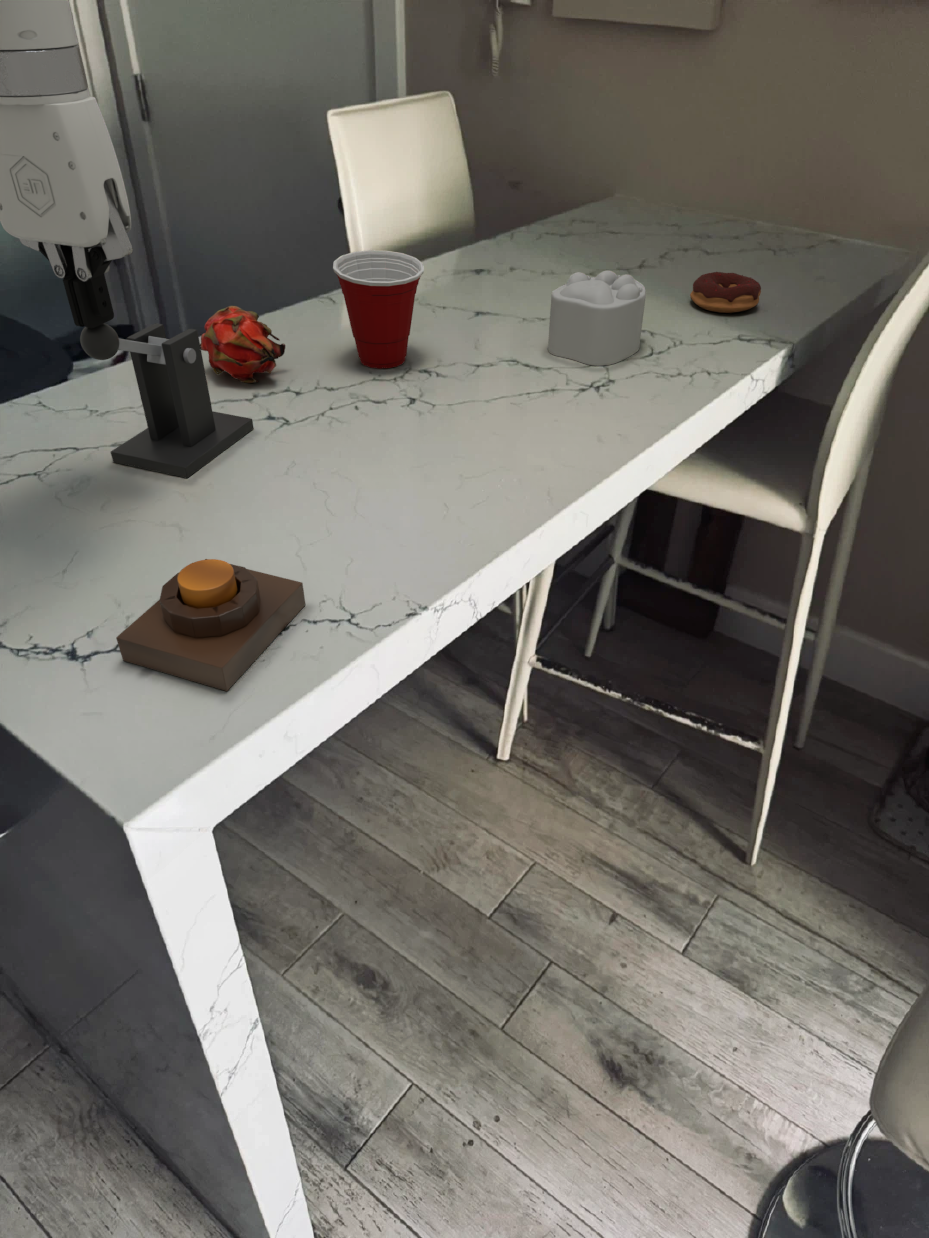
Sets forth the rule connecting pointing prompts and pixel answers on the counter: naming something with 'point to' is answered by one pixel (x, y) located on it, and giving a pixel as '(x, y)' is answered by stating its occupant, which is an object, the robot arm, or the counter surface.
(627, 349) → the lumpy-topped squat cylinder
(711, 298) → the donut
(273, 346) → the dragon fruit
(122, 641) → the control block
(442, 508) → the counter surface
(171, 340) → the ball-topped lever switch base
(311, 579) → the counter surface
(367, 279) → the plastic cup
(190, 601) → the warm button
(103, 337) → the ball-topped lever switch
